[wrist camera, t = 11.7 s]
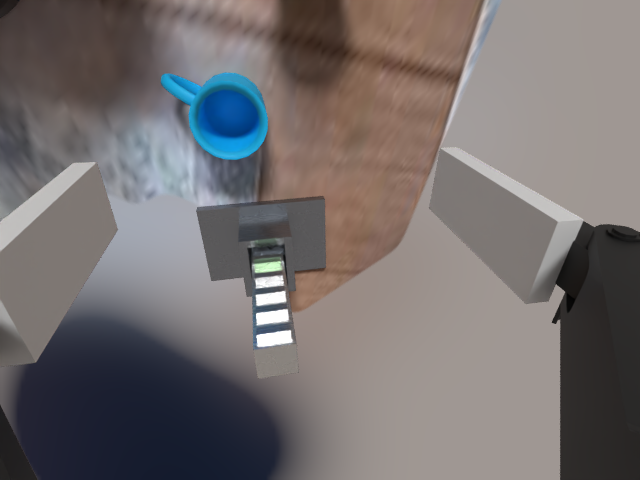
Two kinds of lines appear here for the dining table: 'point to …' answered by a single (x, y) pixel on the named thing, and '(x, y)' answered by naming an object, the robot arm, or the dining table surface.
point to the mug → (223, 113)
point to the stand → (263, 236)
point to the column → (272, 318)
